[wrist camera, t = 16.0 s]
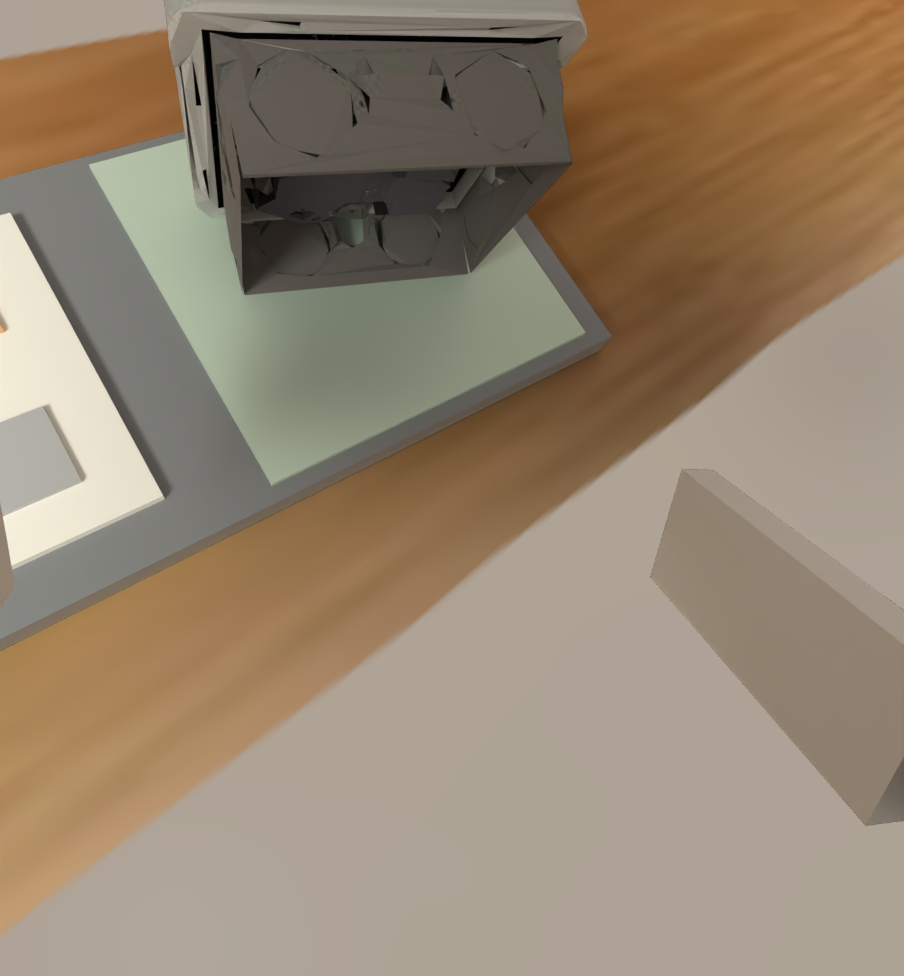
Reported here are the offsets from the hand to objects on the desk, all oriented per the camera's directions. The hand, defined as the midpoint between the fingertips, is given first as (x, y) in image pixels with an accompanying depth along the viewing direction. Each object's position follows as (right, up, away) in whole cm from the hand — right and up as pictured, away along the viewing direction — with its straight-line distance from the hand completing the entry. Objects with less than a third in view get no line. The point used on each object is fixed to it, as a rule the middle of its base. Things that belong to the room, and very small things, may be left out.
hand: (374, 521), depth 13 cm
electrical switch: (-1, +8, +9) cm, 12 cm away
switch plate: (-5, +6, +9) cm, 12 cm away
